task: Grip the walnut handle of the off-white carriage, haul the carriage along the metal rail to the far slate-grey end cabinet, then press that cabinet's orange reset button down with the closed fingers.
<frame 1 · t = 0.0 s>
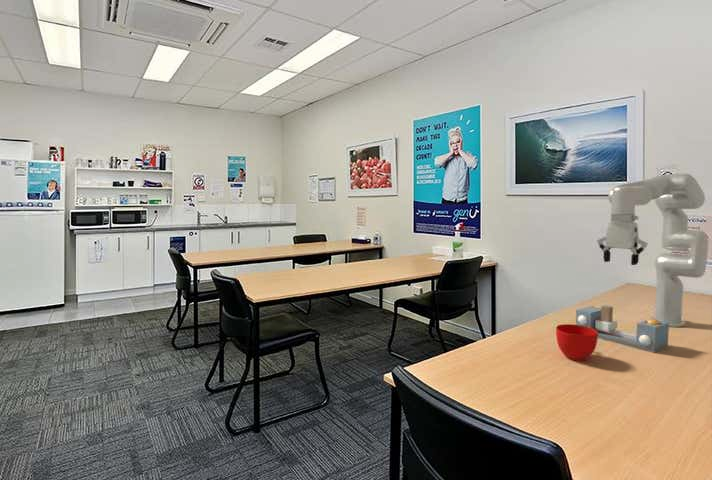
hand: (620, 263, 156), 31 cm above the table, fingers open, 9 cm apart
reset button: (653, 324, 151), point 9 cm above the table, slide at 0.0 cm
rail bed: (618, 339, 162), on the table
carriage: (606, 318, 165), point 7 cm above the table, slide at -5.0 cm
ceramic cup: (574, 355, 145), on the table
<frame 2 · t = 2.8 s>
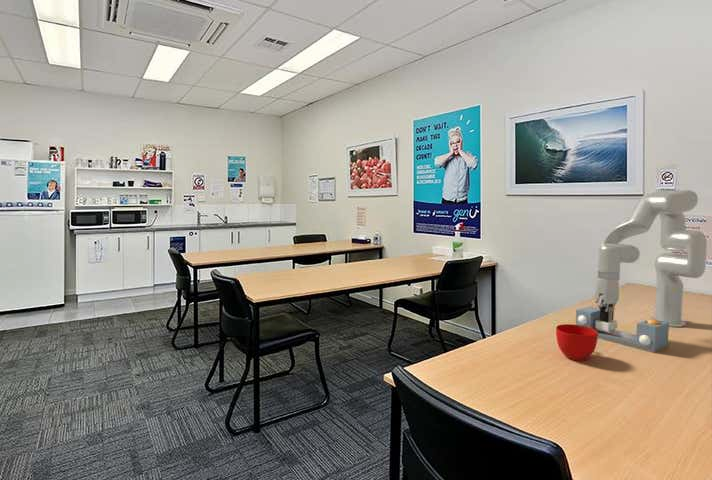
hand: (606, 319, 165), 7 cm above the table, fingers closed on carriage, 3 cm apart
carriage: (606, 318, 165), point 7 cm above the table, slide at -5.0 cm, touching gripper
everything else where it was.
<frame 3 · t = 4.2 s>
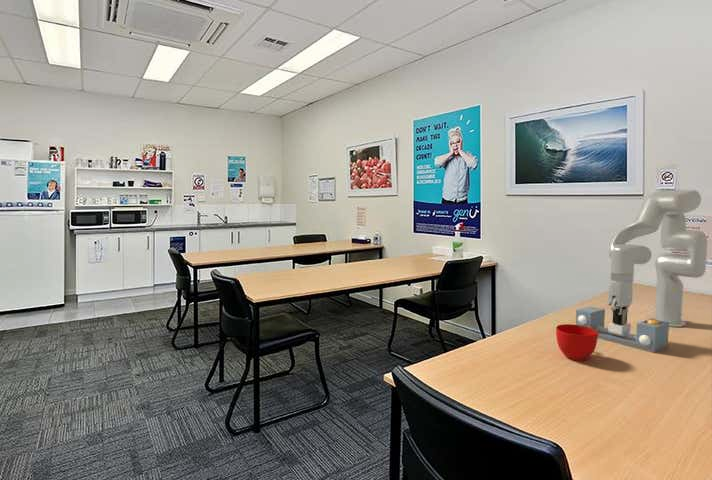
hand: (619, 322, 161), 7 cm above the table, fingers closed on carriage, 3 cm apart
carriage: (619, 321, 161), point 7 cm above the table, slide at 0.0 cm, touching gripper
everything else where it was.
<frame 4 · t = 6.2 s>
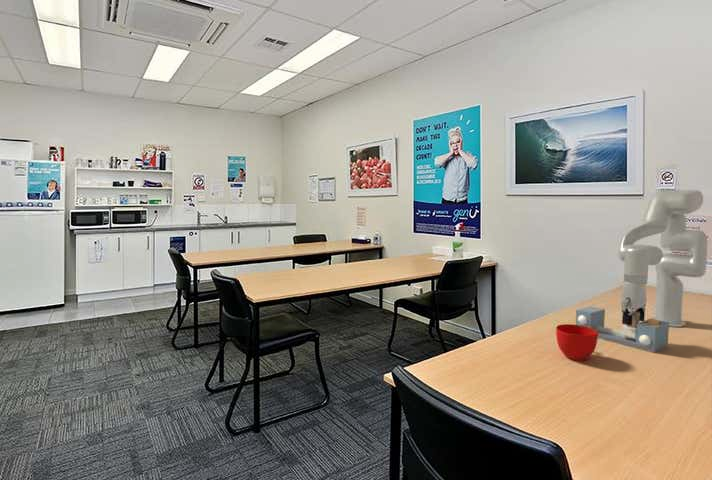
hand: (633, 322, 157), 8 cm above the table, fingers open, 9 cm apart
carriage: (632, 324, 157), point 7 cm above the table, slide at 4.8 cm
everything else where it was.
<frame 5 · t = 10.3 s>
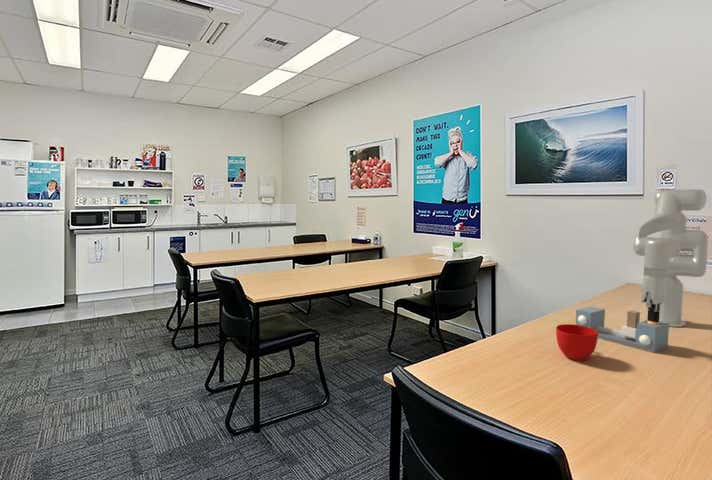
hand: (653, 321, 151), 10 cm above the table, fingers closed
reset button: (653, 325, 151), point 9 cm above the table, slide at 0.3 cm, touching gripper
everything else where it was.
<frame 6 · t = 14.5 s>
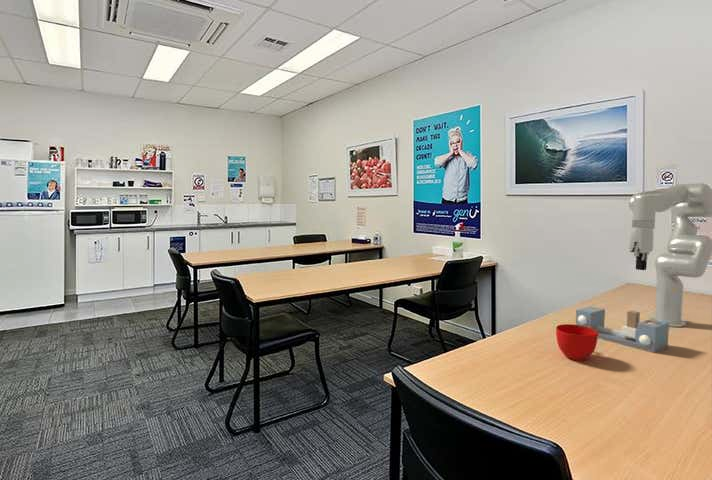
hand: (640, 269, 165), 27 cm above the table, fingers closed
reset button: (652, 327, 151), point 8 cm above the table, slide at 1.3 cm
everything else where it was.
at the end: carriage slide at 4.8 cm; reset button slide at 1.3 cm; the gripper is holding nothing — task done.
